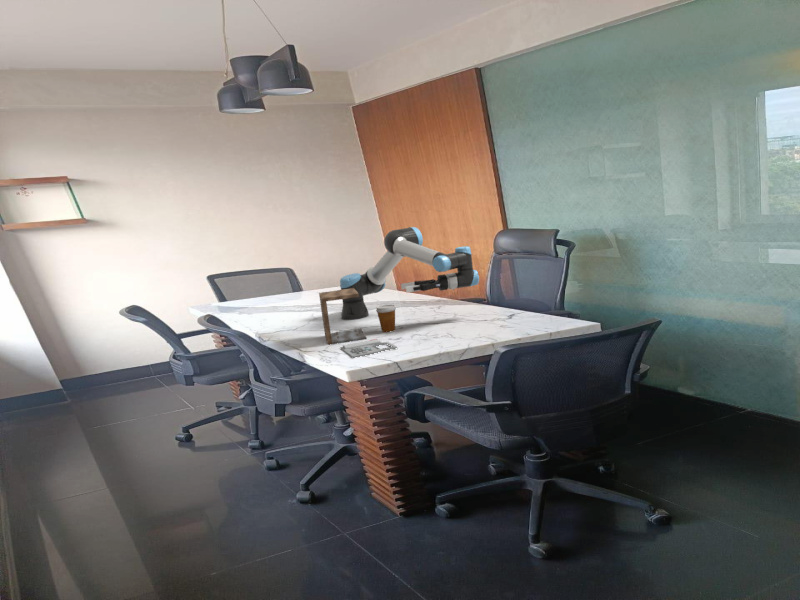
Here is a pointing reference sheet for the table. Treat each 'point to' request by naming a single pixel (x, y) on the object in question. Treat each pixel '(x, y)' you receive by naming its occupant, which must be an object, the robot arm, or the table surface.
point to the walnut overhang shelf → (330, 337)
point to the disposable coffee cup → (386, 317)
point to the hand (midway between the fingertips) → (403, 288)
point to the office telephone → (365, 348)
